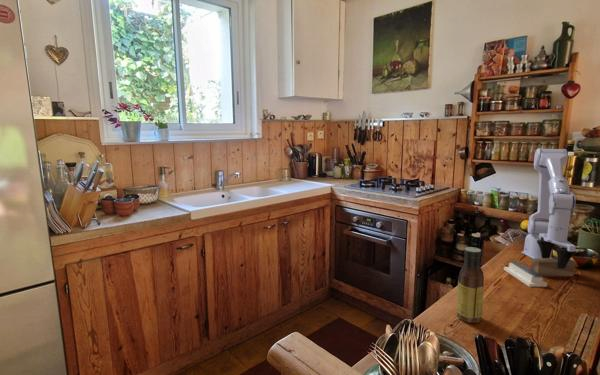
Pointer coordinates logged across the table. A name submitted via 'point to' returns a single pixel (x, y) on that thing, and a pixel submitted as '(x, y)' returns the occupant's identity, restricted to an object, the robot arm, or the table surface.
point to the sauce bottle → (470, 287)
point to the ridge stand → (525, 274)
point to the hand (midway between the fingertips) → (553, 263)
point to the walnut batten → (551, 267)
